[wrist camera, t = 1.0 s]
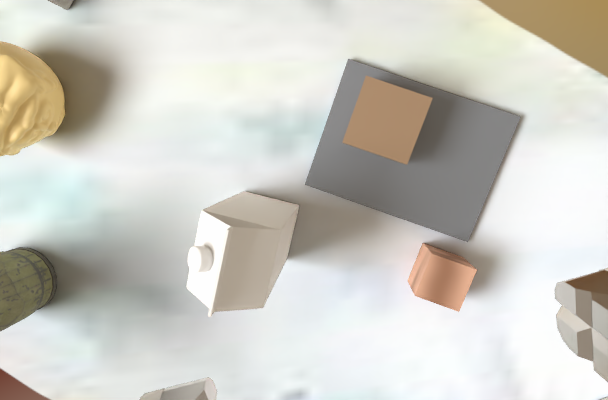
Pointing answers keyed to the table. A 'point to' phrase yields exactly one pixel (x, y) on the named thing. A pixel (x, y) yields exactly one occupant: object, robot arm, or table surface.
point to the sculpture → (27, 99)
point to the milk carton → (240, 251)
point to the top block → (441, 277)
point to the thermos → (24, 284)
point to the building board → (431, 161)
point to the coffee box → (62, 3)
